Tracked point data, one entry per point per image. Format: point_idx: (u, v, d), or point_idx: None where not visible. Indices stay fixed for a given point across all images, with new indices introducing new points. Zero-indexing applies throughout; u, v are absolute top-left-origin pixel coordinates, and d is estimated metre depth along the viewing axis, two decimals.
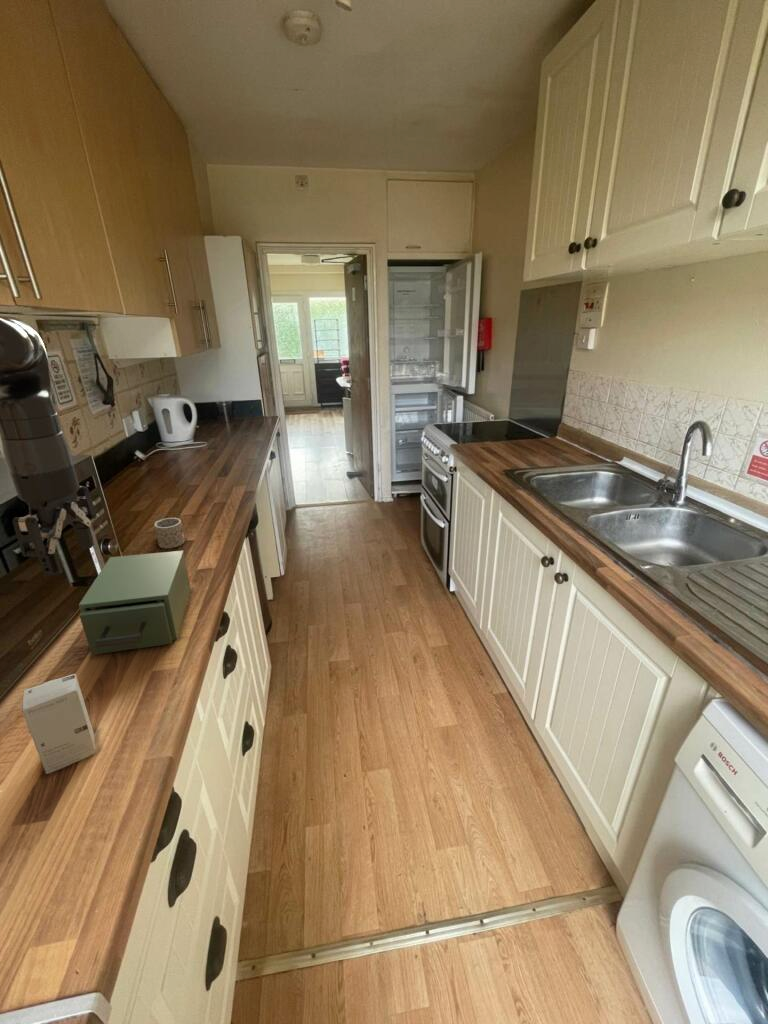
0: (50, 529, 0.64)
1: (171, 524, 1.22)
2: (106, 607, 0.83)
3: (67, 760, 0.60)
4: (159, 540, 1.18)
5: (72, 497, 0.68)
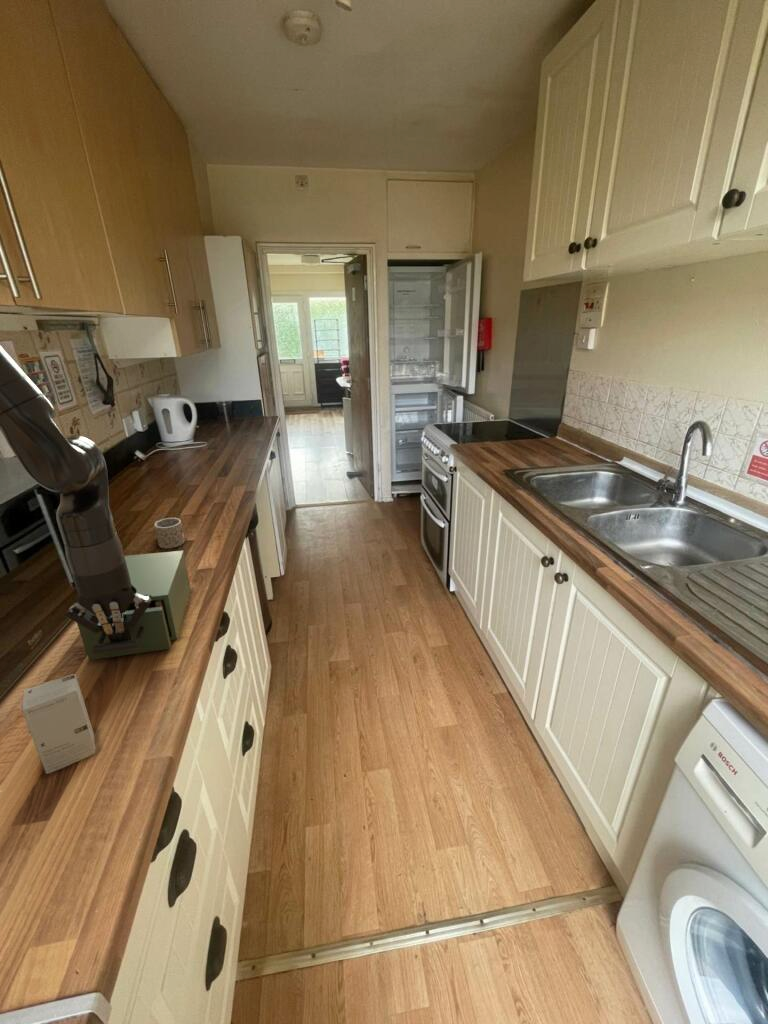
0: None
1: (171, 524, 1.22)
2: None
3: (67, 760, 0.60)
4: (159, 540, 1.18)
5: (123, 596, 0.71)
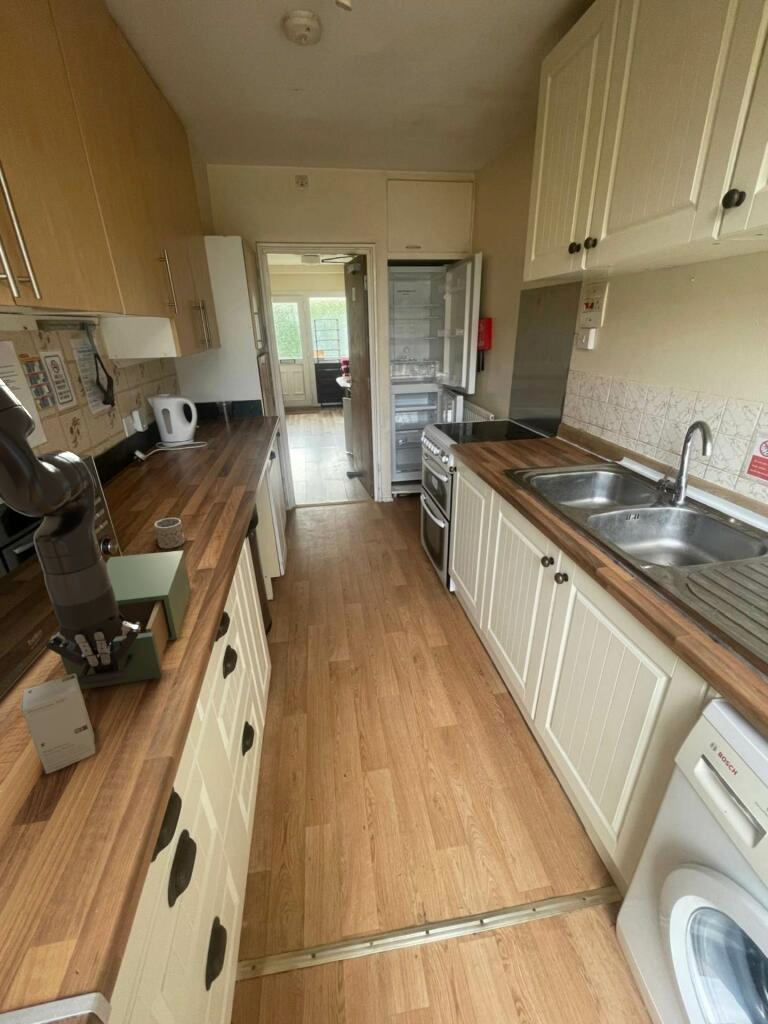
0: None
1: (171, 524, 1.22)
2: None
3: (67, 760, 0.60)
4: (159, 540, 1.18)
5: (110, 625, 0.65)
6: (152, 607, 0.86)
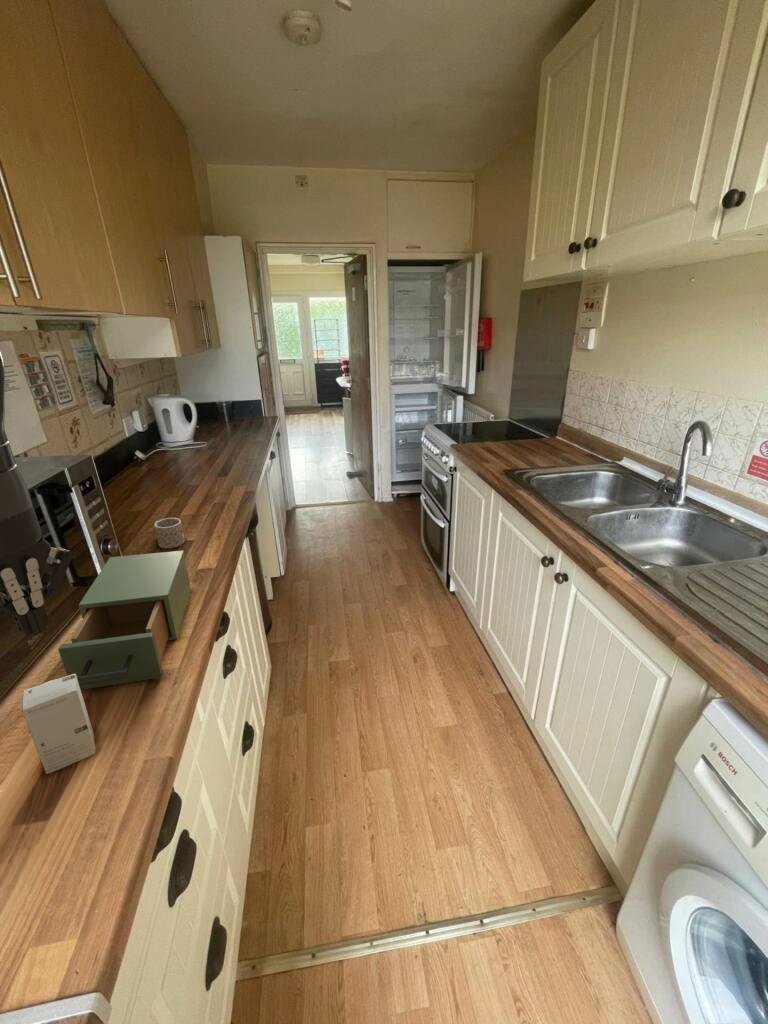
0: None
1: (171, 524, 1.22)
2: (90, 636, 0.76)
3: (67, 760, 0.60)
4: (159, 540, 1.18)
5: (39, 549, 0.52)
6: (152, 607, 0.86)
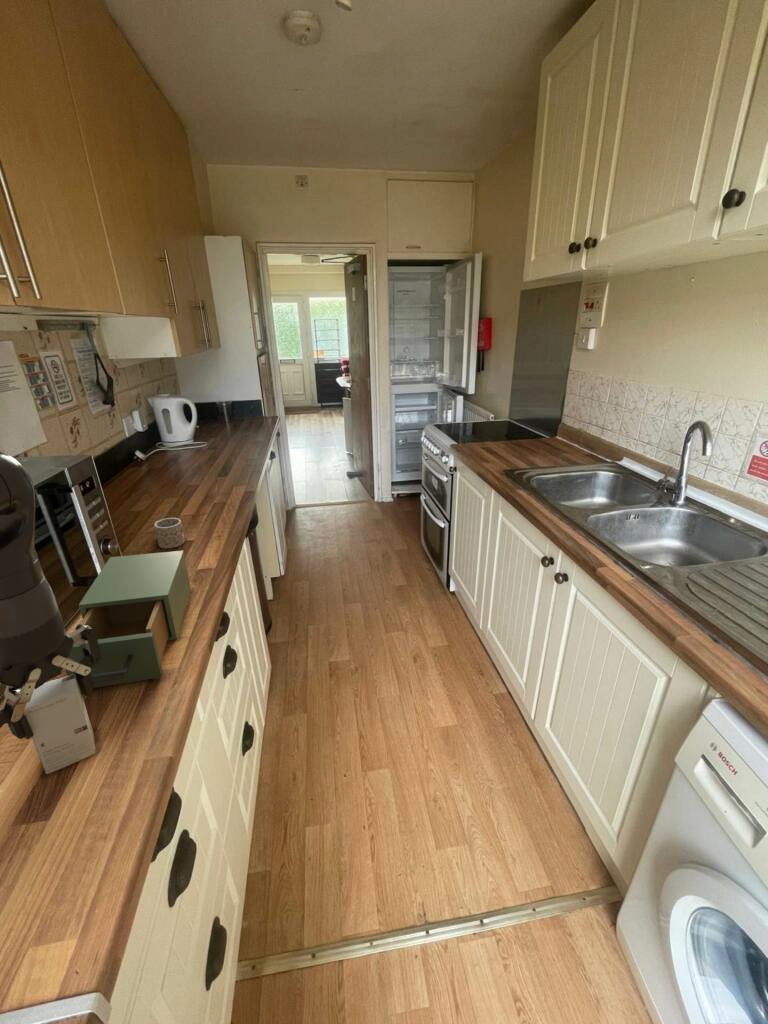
0: None
1: (171, 524, 1.22)
2: None
3: (67, 760, 0.60)
4: (159, 540, 1.18)
5: (63, 645, 0.57)
6: (152, 607, 0.86)
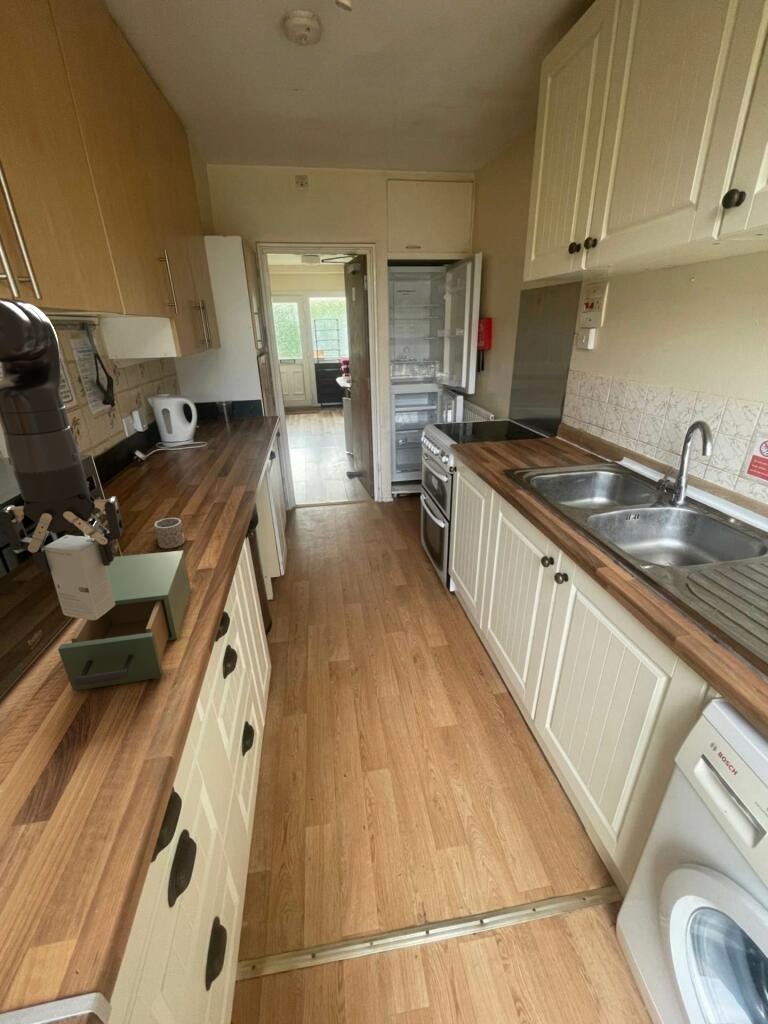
0: None
1: (171, 524, 1.22)
2: (90, 636, 0.76)
3: (75, 611, 0.65)
4: (159, 540, 1.18)
5: (80, 506, 0.60)
6: (152, 607, 0.86)
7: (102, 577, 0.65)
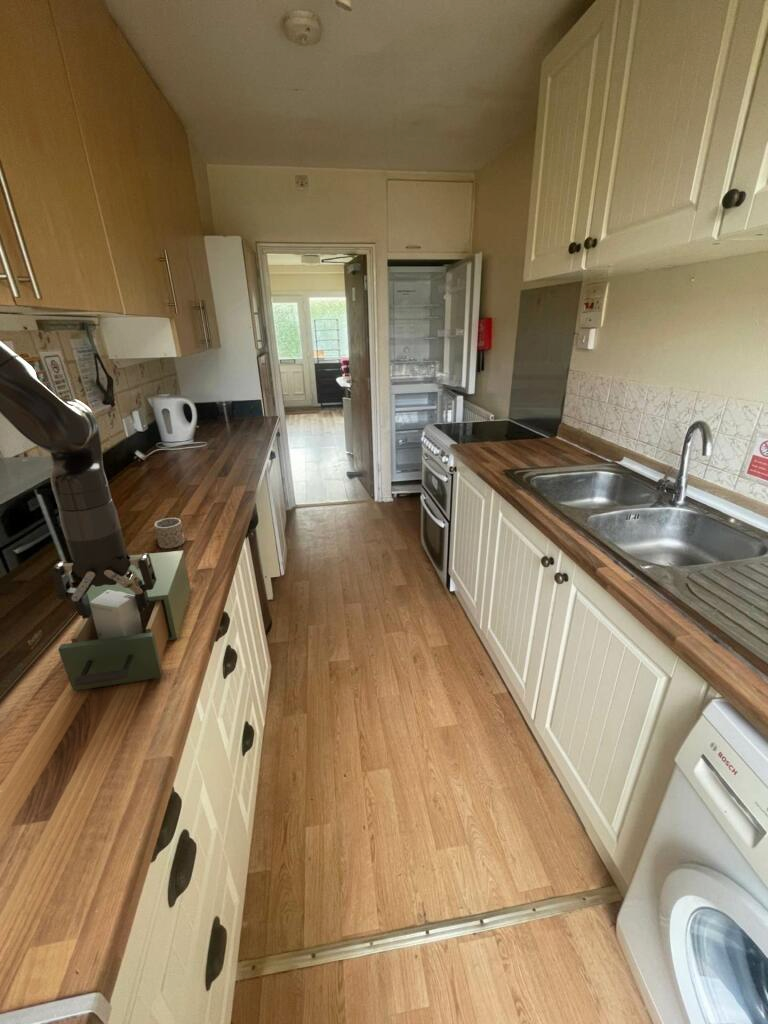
0: None
1: (171, 524, 1.22)
2: (90, 636, 0.76)
3: None
4: (159, 540, 1.18)
5: (118, 564, 0.70)
6: (152, 607, 0.86)
7: (136, 627, 0.76)
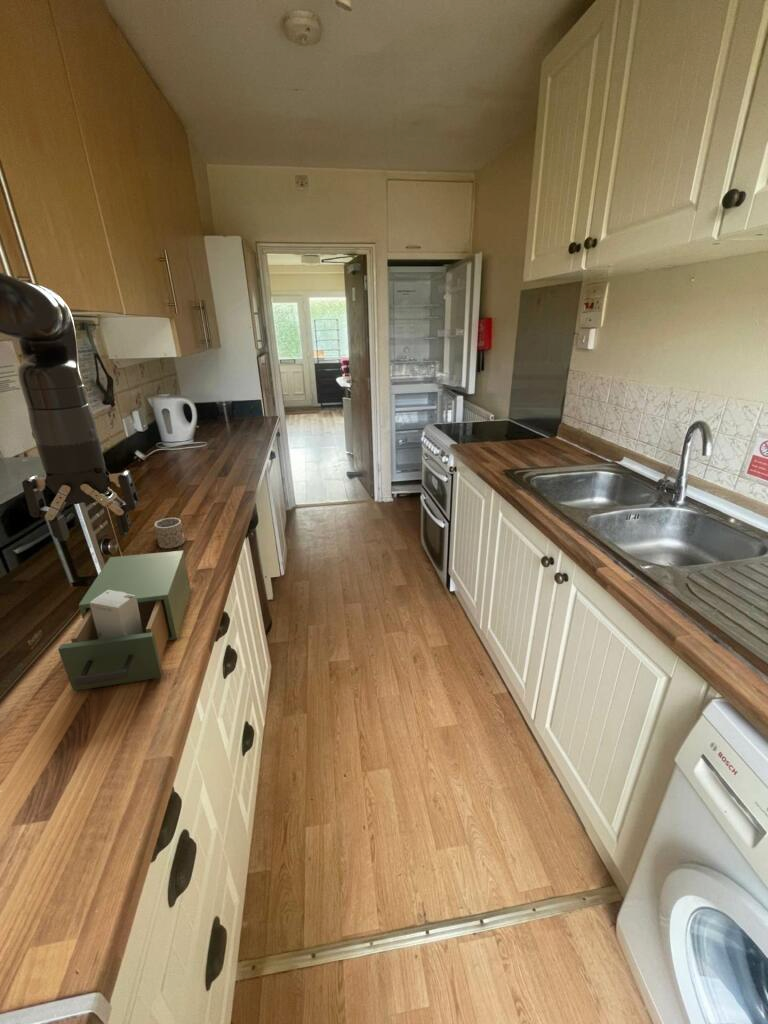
0: None
1: (171, 524, 1.22)
2: (90, 636, 0.76)
3: None
4: (159, 540, 1.18)
5: (96, 479, 0.64)
6: (152, 607, 0.86)
7: (136, 627, 0.76)
